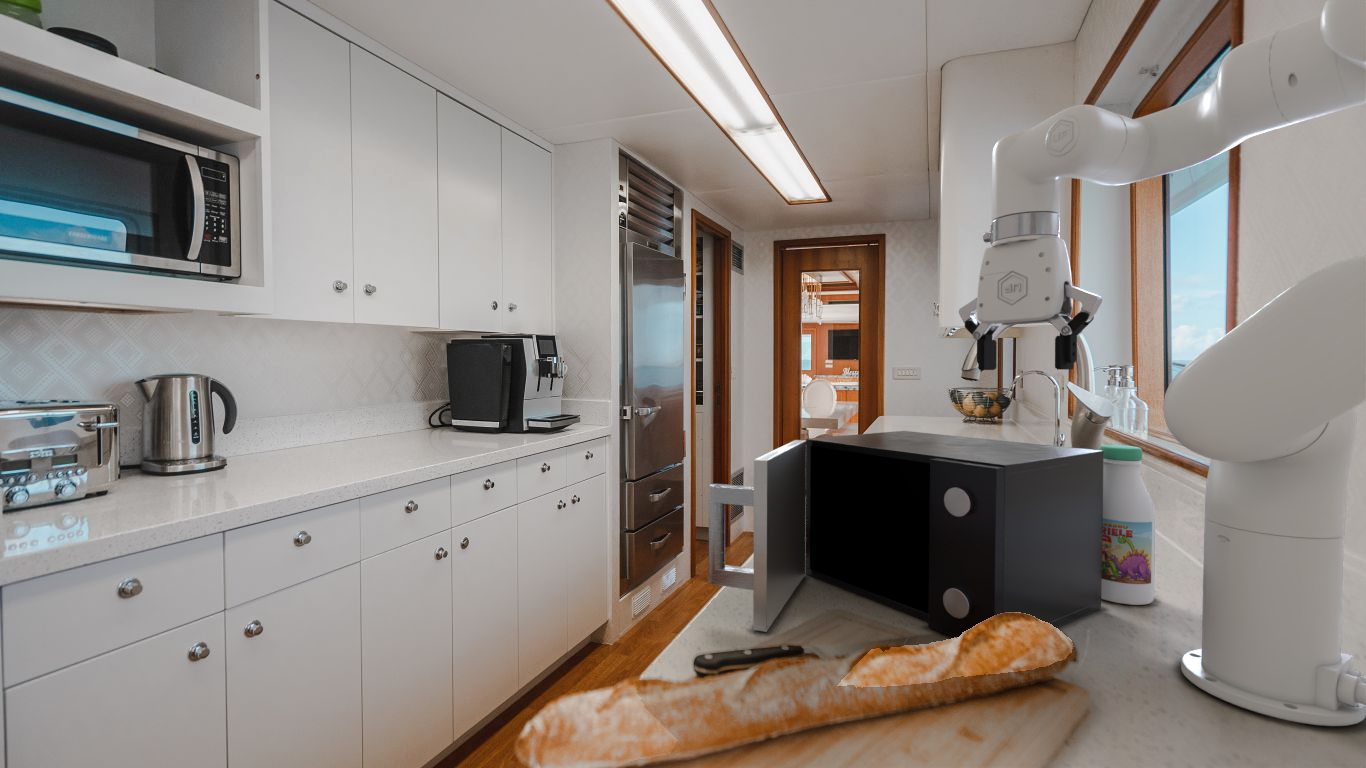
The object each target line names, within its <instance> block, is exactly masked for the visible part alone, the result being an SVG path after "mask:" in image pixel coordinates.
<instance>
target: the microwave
mask: <svg viewBox="0 0 1366 768" xmlns="http://www.w3.org/2000/svg"><path fill="white" fill-rule="evenodd" d="M805 440H806V533H805V575H808V576H810V577H813V578H815V579H817V580H820V581H823V582H825V583H828V584H831V585H833V586H836V587H838V588H840V589H843V590H845V591H848V592H851V593H854V594H856V595H859V596H861V597H863V598H867V599H868V600H871V601H873V602H876V603H878V604H881V605H884V606H887V607H890V608H892V609H894V610H896V611H898V612H902V613H904V614H907V615H910V616H913V617H915V618H918V619H920V620H922V621H925V622H928V623H927V624H928V625H927V627H928V628H931V629H933V630H935V631H938V632H939V633H942V634H946V635H948V636H951V637H952V638H956V639H958V638H957V637H959V636H960V635H961V634H962V632H964V631H966V630H968V629H970V628H972V627H973V626H975V625H976V624H978V623H980V622H982V621H984V620H986V619H988V618H990V617H992V616H994V615H997V614H1000V613H1005V612H1021V613H1026V614H1030V615H1032V616H1035V617H1036V618H1038V619H1040V620H1042V621H1045V622H1048V623H1050V624H1052V625H1053V626H1054V627H1056V628H1055V629H1057V628H1060V627H1062V626H1064V625H1067V624H1069V623H1071V622H1073V621H1075V620H1078V619H1081V618H1083V617H1085V616H1088V615H1090V614H1092V613H1094V612H1096V611H1099V610H1101V609H1102V599H1101V585H1102V525H1103V465H1104V459H1103V458H1104V451H1101V450H1100V449H1091V448H1080V447H1070V446H1061V445H1060V446H1059V445H1051V444H1041V443H1040V444H1039V443H1029V442H1020V441H1012V440H1011V441H1009V440H1002V439H1001V440H999V439H992V438H991V439H989V438H979V437H971V436H970V437H969V436H960V435H950V434H940V433H939V434H938V433H931V432H930V433H929V432H919V431H910V430H898V431H897V430H896V431H885V432H872V433H860V434H847V435H835V436H834V435H833V436H824V437H823V436H821V437H811V438H810V437H809V438H805Z"/></svg>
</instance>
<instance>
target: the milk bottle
mask: <svg viewBox="0 0 1366 768" xmlns="http://www.w3.org/2000/svg"><path fill="white" fill-rule="evenodd" d="M1099 450H1101V451H1104V458H1103V459H1104V465H1103V525H1102V585H1101V600H1104V601H1108V602H1111V603H1117V604H1124V605H1132V606H1133V605H1135V606H1141V605H1148V604H1152V603H1153V601H1154V599H1155V592H1156V591H1155V589H1156V585H1155V584H1156V536H1157V535H1156V533H1157V531H1156V529H1157V528H1156V511H1155V506H1154V502H1153V499H1152V497H1151V495H1150V493H1149V491H1148V489H1147V487H1146V485H1145V483H1144V481H1143V477H1142V474H1141V467H1140V466H1141V465H1142V464H1143V462H1142V460H1143V448H1141V447H1140V446H1139V447H1138V446H1134V445H1124V444H1103V445H1101V446H1100V447H1099Z"/></svg>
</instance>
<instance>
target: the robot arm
mask: <svg viewBox="0 0 1366 768" xmlns="http://www.w3.org/2000/svg"><path fill="white" fill-rule="evenodd" d="M1362 105H1366V0H1326V1H1325V3H1324V5H1323V7H1322V10H1321V13H1319V14H1317V15H1313V16H1311V17H1309V18H1306V19H1304V20H1302V21H1299V22H1296V23H1294V24H1291V25H1289V26H1285V27H1283V28H1281V29H1277V30H1275V31H1273V32H1270V33H1267V34H1264V35H1261V36H1260V37H1257V38H1255V39H1251V40H1249V41H1247V42H1244V43H1241V44H1239V45H1238V46H1236V47H1235V48H1233V49H1231V50H1230V51H1228V53H1227V54H1226V55H1225V56H1224V58H1223V59H1222V61H1221V63H1220V64H1219V67H1218V71H1217V75H1216V79H1215V80H1214V81H1213V82H1212V83H1211V85H1209V86H1207V88H1206V89H1204V90H1203V91H1201V92H1200V93H1198V94H1196V95H1194V96H1193V97H1191V98H1189V99H1187V100H1185V101H1183V102H1180V103H1178V104H1175V105H1173V106H1170V107H1167V108H1164V109H1161V110H1159V111H1156V112H1152V113H1148V114H1147V115H1144V116H1140V117H1137V118H1131V117H1129V116H1126V115H1122V114H1120V113H1117V112H1114V111H1111V110H1107V109H1104V108H1103V107H1099V106H1096V105H1094V104H1076V105H1072V106H1069V107H1066V108H1064V109H1062V110H1060V111H1058V112H1057V113H1054V114H1053V115H1051V116H1050V117H1048V118H1046V119H1045V120H1043V121H1041V122H1039V123H1037V124H1036V125H1035V126H1033V127H1030V128H1028V129H1023V130H1018V131H1014V132H1012V133H1009V134H1007V135H1005V136H1003V137H1001V138H1000V139H999V140H998V141H997V142H996V143H995V144H994V146H993V148H992V155H991V157H992V158H991V159H992V161H991V224H990V230H989V231H988V232H984V233H983V234H982V239H983V242H984V243H985V244H986V243H990V245H991V246H990V247H986V248H985V249H984V253H983V256H982V260H981V265H980V271H979V275H978V284H977V285H978V286H977V296H976V297H975V298H974V299H972V300H971V301H970V302H968V303H967V304H965V305H964V306H961V307H960V308H959V309H958V315H959V316H960V318H961V321H962V323H964V328H965V329H966V330H967V332H969V333H970V334H971V336H972V339H973V340H975V341H976V363H977V365H978V367H977V368H978V370H979V371H995V370H996V369H997V348H998V347H997V344H998V343H997V340H996V339H993V338H994V336H995V335H996V334H997V333H998V331H999V330H1000V328H1002V326H1014V325H1029V324H1031V325H1032V324H1044V323H1051V324H1052V326H1053V327H1054V328H1055V329H1056V330H1057V331H1058V332H1059V335H1056V336H1055V338H1054V368H1055V369H1056V370H1061V371H1062V370H1073V369H1074V367H1075V363H1076V362H1077V360H1078V337H1079V336H1080V335H1082V333H1083V330H1084V329H1085V328H1086V327H1088V325H1090V323H1092V322H1093V320H1094V317H1095V315H1096V314H1097V312H1098V310H1099V308H1100V307H1101V305H1102V303H1103V297H1102V296H1100V295H1098V294H1095V293H1093V292H1090V291H1087V290H1085V289H1081V288H1079V287H1076V286H1074V285H1073V278H1072V270H1071V263H1070V262H1071V261H1070V258H1069V257H1070V256H1069V252H1068V249H1067V244H1066V242H1065V239H1062V238H1061V237H1060V234H1061V233H1060V229H1061V228H1060V227H1061V225H1060V217H1061V215H1060V214H1061V213H1060V212H1061V210H1060V209H1061V208H1060V207H1061V201H1060V200H1061V178H1067V179H1077V180H1082V181H1085V182H1090V183H1092V184H1097V185H1100V186H1101V185H1102V186H1121V185H1128V184H1132V183H1133V184H1134V183H1137V182H1141V181H1145V180H1149V179H1153V178H1156V177H1159V176H1164V175H1168V174H1171V173H1174V172H1179V171H1181V170H1185V169H1187V168H1188V169H1189V168H1191V167H1194V166H1197V165H1199V164H1202V163H1204V162H1206V161H1208V160H1210V159H1212V158H1214V157H1216V156H1219V155H1220V154H1223V153H1225V152H1226V151H1229V150H1231V149H1233V148H1235V147H1237V146H1239V145H1241V144H1242V143H1243V142H1244V141H1246V140H1248V139H1250V138H1252V137H1255V136H1258V135H1261V134H1264V133H1267V132H1271V131H1274V130H1278V129H1281V128H1285V127H1288V126H1291V125H1295V124H1298V123H1302V122H1305V121H1308V120H1312V119H1315V118H1319V117H1323V116H1326V115H1329V114H1333V113H1336V112H1340V111H1343V110H1347V109H1350V108H1354V107H1357V106H1362ZM1074 300H1075V301H1077V302H1080V304H1081V308H1080V310H1079V312H1078V313H1076V314H1075V316H1074V317H1073V318H1072V317H1071V316H1072V313H1073V306H1074V305H1073V304H1074ZM976 318H977V319H976ZM1364 402H1366V254H1364V255H1358V256H1355V257H1350V258H1346V259H1343V260H1340V261H1337V262H1334V263H1332V264H1330V265H1326V266H1325V267H1323V268H1321V269H1318V270H1317V271H1315V272H1313V273H1311V274H1309V275H1307V276H1306V277H1304V278H1302V279H1301V280H1299V281H1298V282H1296V283H1294V284H1293V285H1291V286H1289V288H1287V289H1286V290H1285V291H1283V292H1282V293H1280V294H1279V295H1278V296H1276V297H1275V298H1273V299H1272V300H1271V301H1269V302H1268V303H1266V304H1265V305H1264V306H1262V308H1259V310H1257V311H1256V312H1254V313H1253V314H1252V315H1250V316H1249V317H1247V318H1246V319H1245V320H1243V321H1242V322H1241V323H1240V324H1238V325H1237V326H1235V327H1234V328H1233V329H1232V330H1230V331H1229V332H1227V333H1226V334H1225V335H1223V336H1222V337H1221V338H1219V339H1218V340H1217V341H1215V342H1214V343H1212V344H1211V345H1210V346H1209V347H1207V348H1206V349H1205V350H1203V351H1202V352H1201V353H1199V354H1198V355H1196V356H1195V357H1194V358H1193V359H1191V360H1190V361H1189V362H1188V363H1186V365H1185V366H1183V367H1182V368H1181V369H1180V371H1178V372H1177V374H1176V375H1175V376H1174V377H1173V378H1172V380H1171V382H1170V384H1169V385H1168V387H1167V389H1166V392H1165V394H1164V398H1163V405H1162V410H1163V411H1162V412H1163V417H1164V421H1165V424H1166V426H1167V428H1168V430H1169V433H1170V434H1171V435H1172V437H1173V438H1174V439H1175V441H1177V442H1178V443H1179V444H1181V446H1183V447H1185V448H1186V449H1187V450H1189V451H1191V452H1193V453H1194V454H1197V455H1199V456H1200V457H1204V458H1207V459H1210V461H1209V466H1208V472H1207V476H1206V483H1205V494H1204V517H1203V562H1202V564H1203V565H1202V607H1201V608H1202V611H1201V612H1202V614H1201V648H1200V649H1193V650H1190V651H1187V652H1185V653H1184V654H1182V655H1181V658H1180V667H1181V668H1180V669H1181V672H1182V674H1183V675H1184V677H1185V678H1186V679H1187V680H1189V681H1190V683H1192V684H1194V686H1196V687H1198V688H1199V689H1201V690H1202V691H1204V692H1206V693H1208V694H1210V695H1211V696H1213V697H1216V698H1218V699H1219V700H1222V701H1224V702H1227V703H1229V704H1231V705H1234V706H1237V707H1239V708H1242V709H1246V710H1248V711H1252V712H1255V713H1257V714H1260V715H1263V716H1264V715H1265V716H1268V717H1272V718H1275V719H1279V720H1286V721H1289V722H1295V723H1298V724H1299V723H1300V724H1305V725H1312V726H1322V727H1323V726H1324V727H1346V726H1347V727H1348V726H1352V725H1357V724H1359V723H1361V722H1363V721H1364V720H1365V718H1366V676H1364V675H1362V674H1361V671H1359V670H1356V669H1353V663H1354V661H1353V660H1354V658H1353V657H1354V656H1353V655H1351V654H1347V653H1344V652H1342V643H1343V641H1342V638H1343V604H1344V603H1343V602H1344V601H1343V600H1344V599H1343V598H1344V566H1345V565H1344V562H1345V560H1344V559H1345V535H1346V515H1347V514H1346V513H1347V492H1348V483H1349V473H1350V466H1351V462H1352V461H1351V459H1352V455H1353V449H1354V443H1355V440H1356V439H1355V438H1356V430H1357V407H1358V406H1359V405H1361V404H1363V403H1364Z"/></svg>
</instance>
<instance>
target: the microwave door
mask: <svg viewBox="0 0 1366 768" xmlns="http://www.w3.org/2000/svg"><path fill="white" fill-rule="evenodd" d="M806 446H807V445H806V439H805V440H804V439H801V440H800V439H794V440H792V441H790V442H789V443H786V444H784V445H782V446H780V447H777V448H775V449H773V450H771V451H769V452H767V453H765V454H763V455H761V456H758V457H756V458H754V459H753V485H741V484H725V483H711V484H709V485H708V583H709V584H710V585H712V586H713V585H714V586H721V587H728V588H734V589H741V590H749V591H753V593H752V594H753V595H752V597H753V601H752V603H753V605H752V607H753V609H752V612H753V613H752V618H753V619H752V620H753V621H752V623H753V624H752V629H753V631H758V632H765V633H767V632H768V631H769V629H770V628H771V626H772V625H773V623H774V621H775V620H776V619H777V617H778V616H779V614H780V613H781V611H782V610H783V608H784V607H785V605H786V604H787V602H788V601H789V600H790V598H791V597H792V595H793V594H794V592H795V591H796V589H797V587H798V586H799V585H800V583H801V582H802V581H803V579H804V578H805V576H806V567H805V559H806ZM726 505H731V506H744V507H753V563H752V564H753V568H752V567H745V566H738V565H730V564H726Z"/></svg>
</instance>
